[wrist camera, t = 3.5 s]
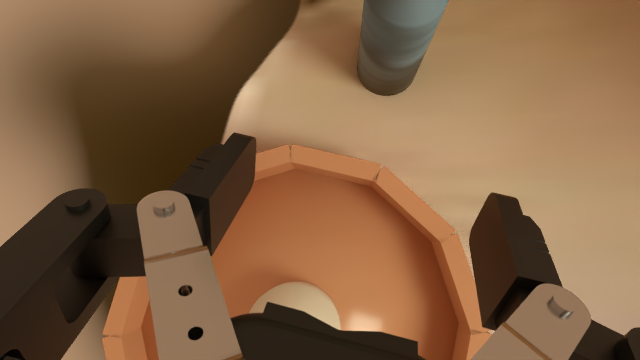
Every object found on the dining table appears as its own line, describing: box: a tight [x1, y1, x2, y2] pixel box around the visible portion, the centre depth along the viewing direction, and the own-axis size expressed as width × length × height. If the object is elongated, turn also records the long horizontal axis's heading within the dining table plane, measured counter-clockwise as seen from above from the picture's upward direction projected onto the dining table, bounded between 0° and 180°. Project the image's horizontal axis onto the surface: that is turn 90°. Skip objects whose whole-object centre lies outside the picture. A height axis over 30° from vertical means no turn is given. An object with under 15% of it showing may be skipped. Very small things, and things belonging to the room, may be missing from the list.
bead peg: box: [357, 0, 449, 96], centre depth 25 cm, size 4×4×10 cm
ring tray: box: [102, 144, 492, 360], centre depth 25 cm, size 23×23×4 cm
